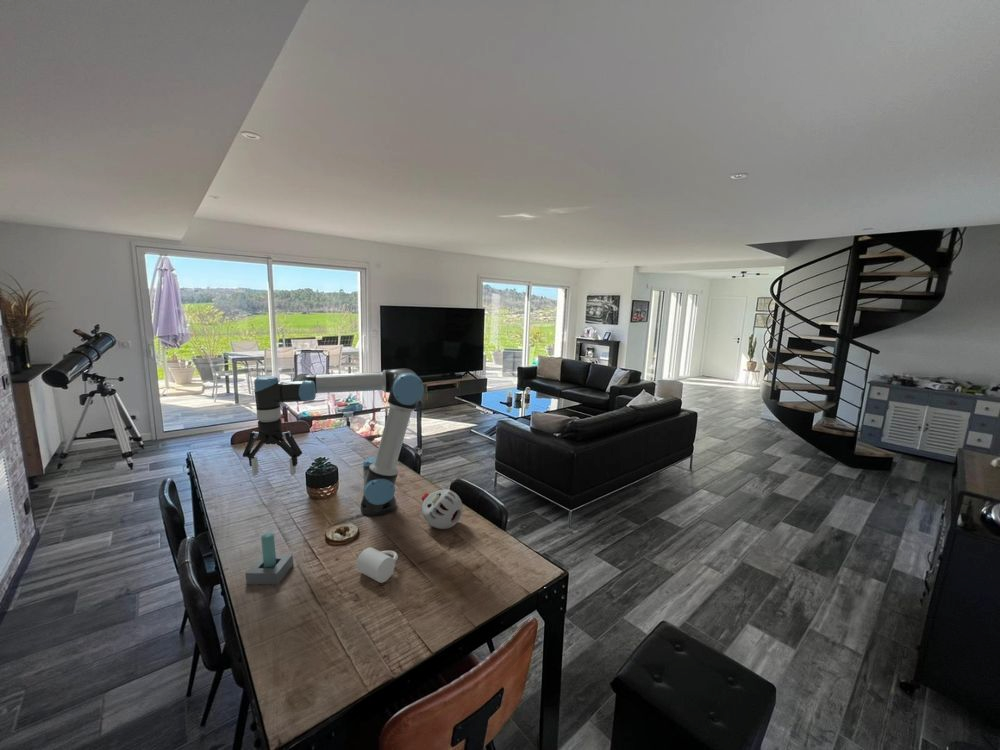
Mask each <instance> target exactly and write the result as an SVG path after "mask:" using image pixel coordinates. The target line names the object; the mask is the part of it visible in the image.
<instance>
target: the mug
mask: <svg viewBox="0 0 1000 750" xmlns="http://www.w3.org/2000/svg"><path fill="white" fill-rule="evenodd" d="M392 556H393V557H392ZM398 558H399V555H398V553H397V552H396V551H394V550H382V551H381V550H378V549H376V548H373V547H366V548H365V549H363V551H361V552H360V554H359V555H358V558H357V559H356V569H357V571H358V572H359V573H361V574H364V575H365V576H366V577H369V578H370V579H372V580H374V581H376V582H378V583H379V584H381V583H382V584H383V583H384V582H386V581H388V580H389V579H390V578H391V577H392V575H393V573H394V570H395V568H396V561H397V560H399V559H398Z"/></svg>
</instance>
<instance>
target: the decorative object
mask: <svg viewBox="0 0 1000 750" xmlns="http://www.w3.org/2000/svg"><path fill="white" fill-rule="evenodd" d="M421 501H422V505H421V512H422V516H423V519H424V520H425V521H426V522H427V523H428V524H429V526H432V527H434V528H436V529H440V530H448V529H450V528H453V527H454V526H455V525H456V524H457V523H458V522H459V521H460V519H461V517H462V515H463V510H464V508H463V502H462V499H461V498H460V496H459V495H458V494H457V493H456V492H455V491H453V490H451V489H440V490H437V491H434V492H431V493H428V492H426V493H424V494H423V496H421Z"/></svg>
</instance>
